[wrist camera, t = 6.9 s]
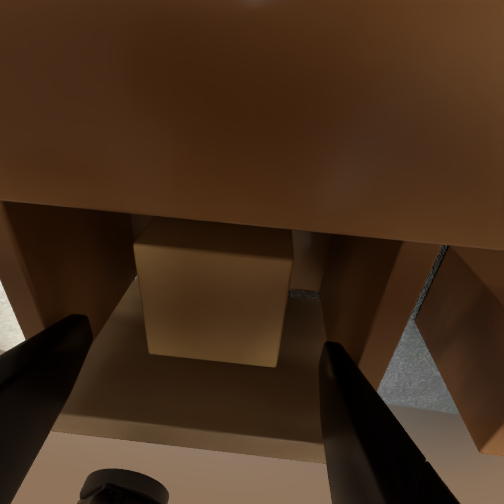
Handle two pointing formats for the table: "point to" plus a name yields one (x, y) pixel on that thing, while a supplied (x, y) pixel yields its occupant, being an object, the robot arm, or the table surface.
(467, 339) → the brown wooden block
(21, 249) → the drawer
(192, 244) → the block
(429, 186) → the cabinet
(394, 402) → the table surface
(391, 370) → the table surface
